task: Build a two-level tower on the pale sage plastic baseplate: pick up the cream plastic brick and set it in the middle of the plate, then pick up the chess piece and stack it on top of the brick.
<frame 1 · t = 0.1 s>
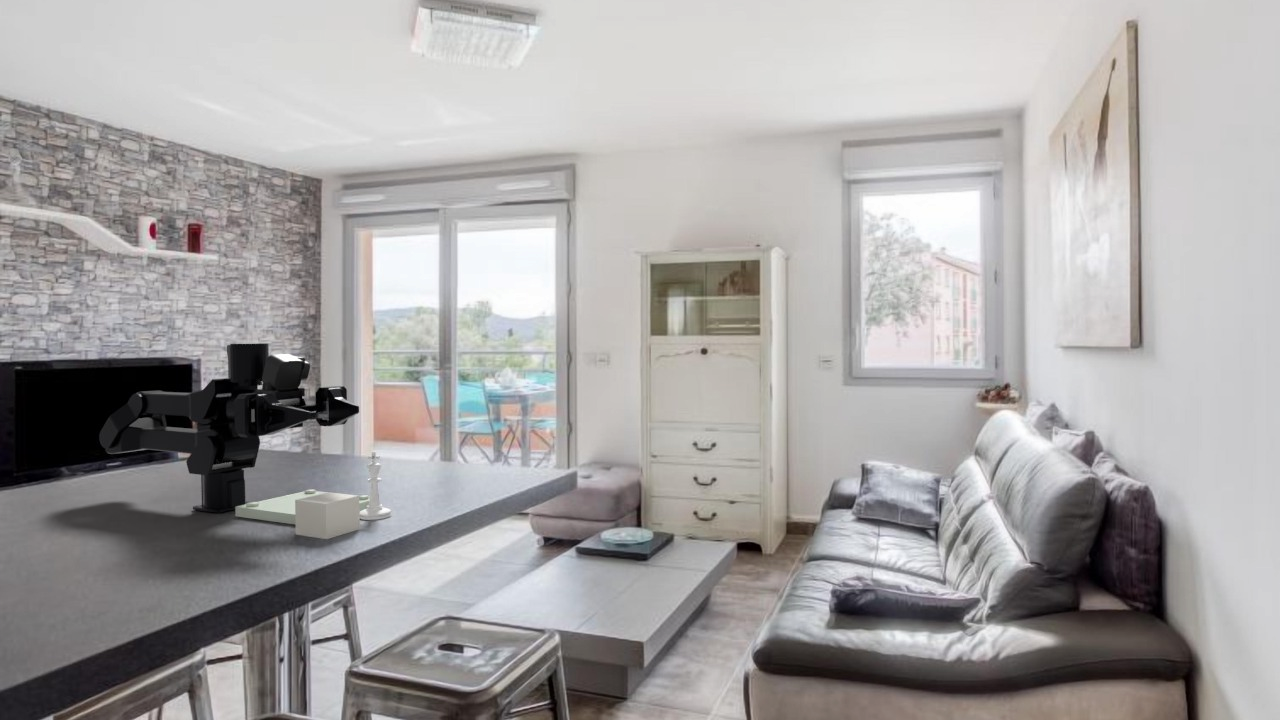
hand: (334, 412, 115), 17 cm above the breakfast bar, tool horizontal, fingers open, 9 cm apart
chess piece: (375, 517, 120), on the breakfast bar
baseplate: (308, 513, 122), on the breakfast bar
brick: (328, 532, 110), on the breakfast bar
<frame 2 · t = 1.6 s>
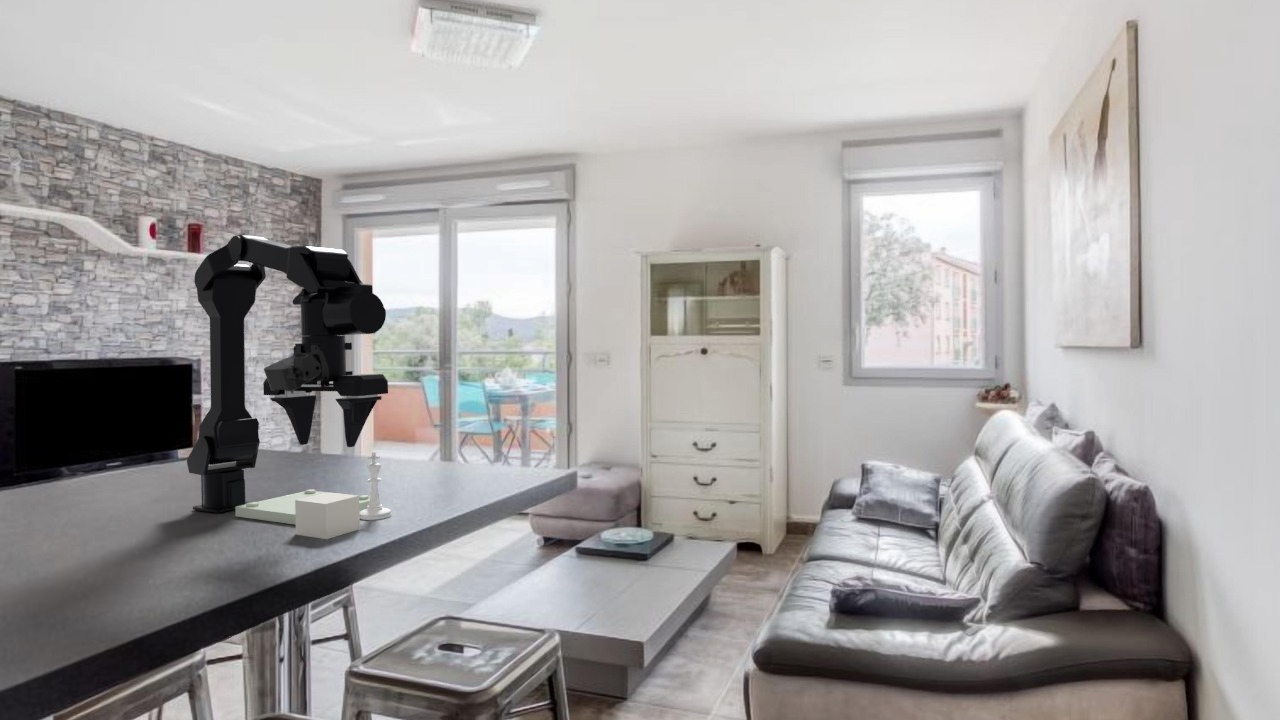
hand: (326, 445, 110), 12 cm above the breakfast bar, tool pointing down, fingers open, 9 cm apart
nothing on the breakfast bar moved.
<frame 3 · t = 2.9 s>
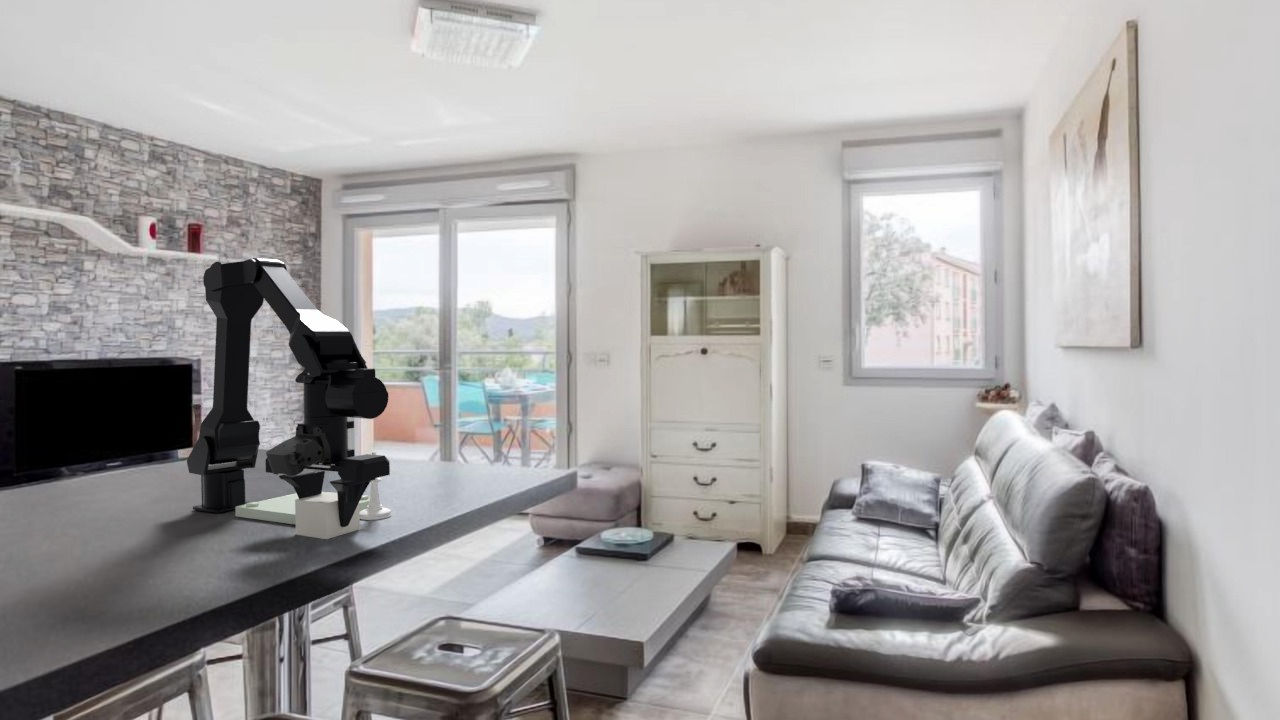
hand: (328, 524, 110), 1 cm above the breakfast bar, tool pointing down, fingers closed on brick, 6 cm apart
brick: (328, 532, 110), on the breakfast bar, touching gripper
everything else where it was.
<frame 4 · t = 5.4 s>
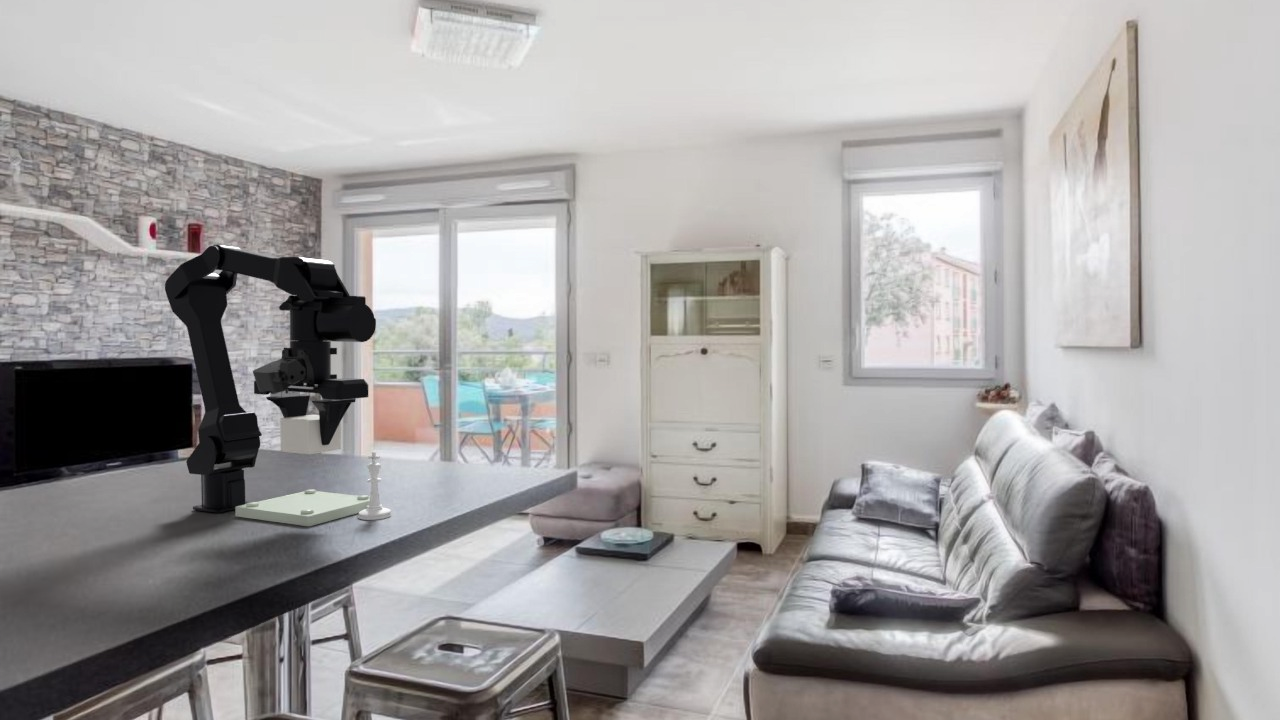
hand: (310, 443, 118), 12 cm above the breakfast bar, tool pointing down, fingers closed on brick, 6 cm apart
brick: (311, 450, 118), point 11 cm above the breakfast bar, touching gripper
everything else where it was.
when the fingers open (3 cm above the breakfast bar, at t = 7.8 s): brick stays where it is, resting on baseplate.
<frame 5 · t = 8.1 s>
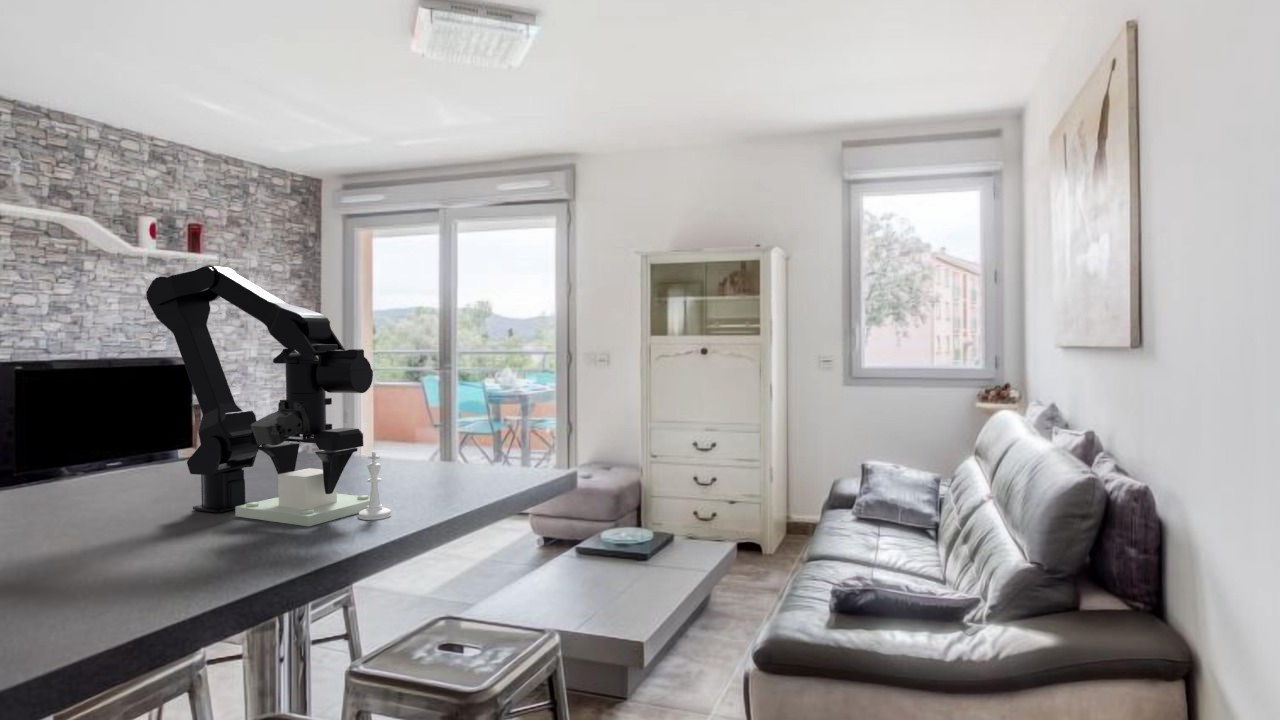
hand: (307, 491, 122), 3 cm above the breakfast bar, tool pointing down, fingers open, 9 cm apart
brick: (308, 504, 122), point 1 cm above the breakfast bar, touching baseplate
everything else where it was.
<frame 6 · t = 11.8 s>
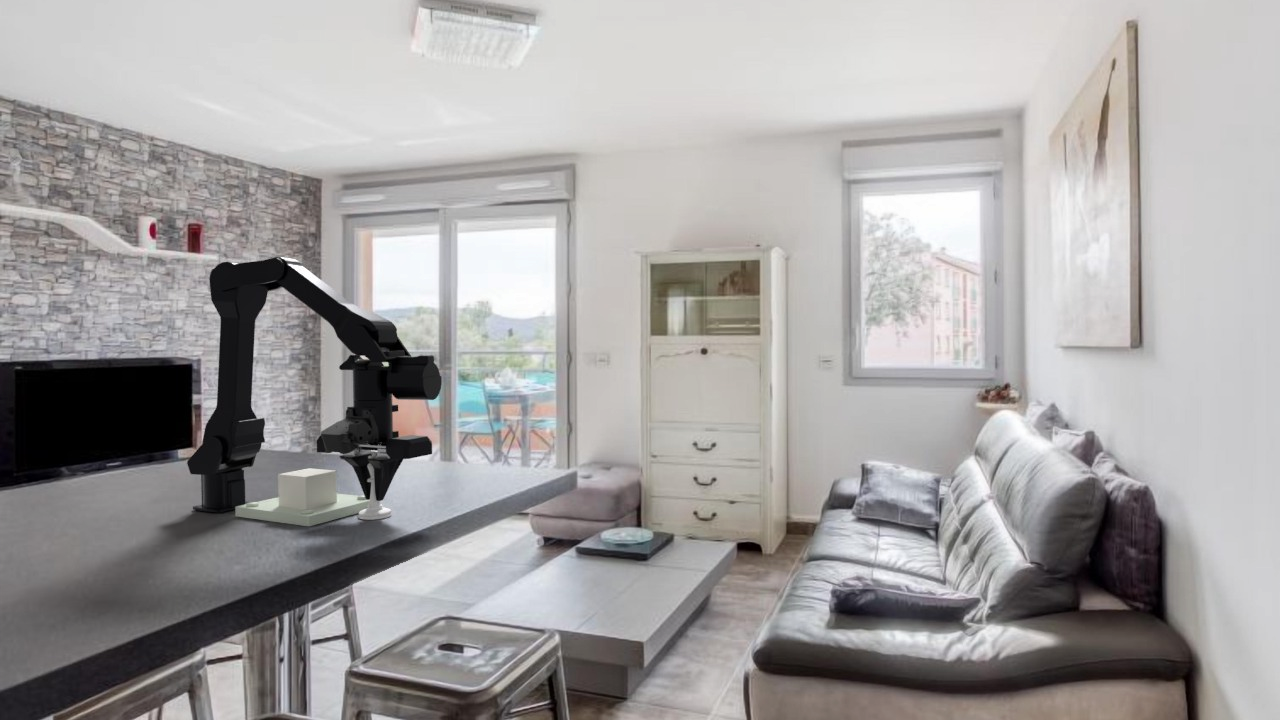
hand: (374, 499, 120), 3 cm above the breakfast bar, tool pointing down, fingers closed on chess piece
chess piece: (375, 517, 120), on the breakfast bar, touching gripper
everything else where it was.
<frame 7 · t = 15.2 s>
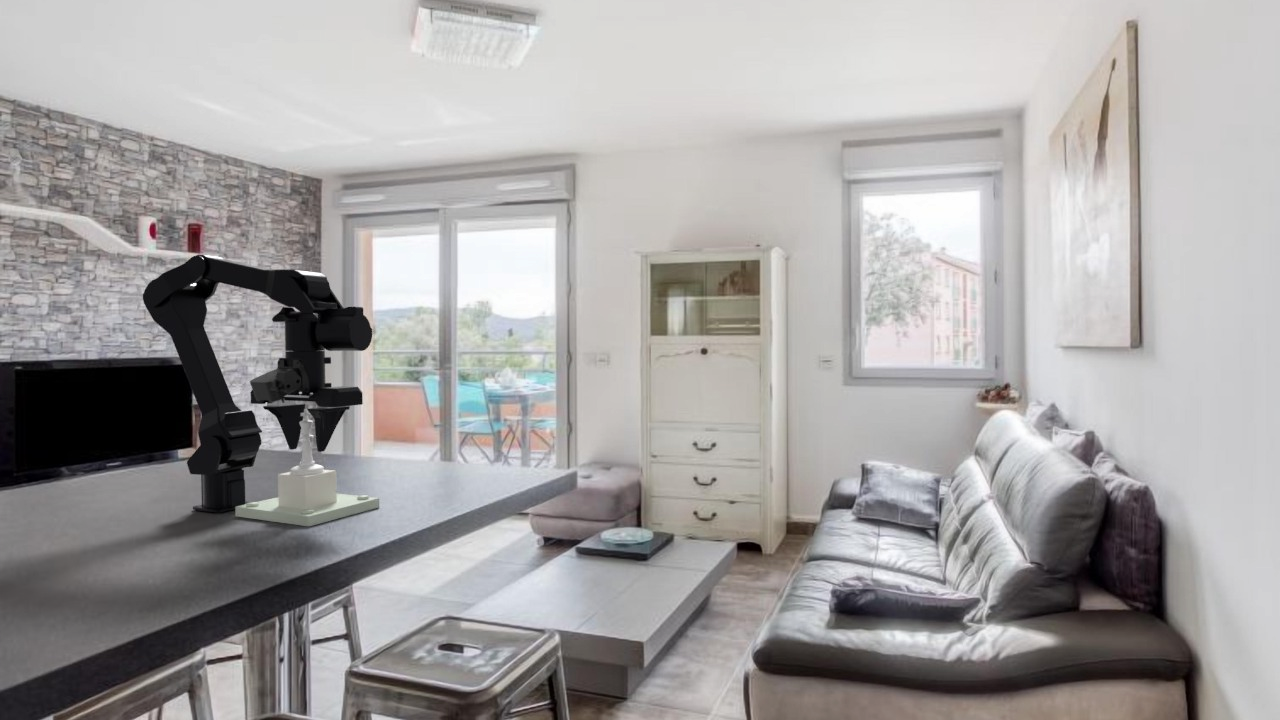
hand: (307, 450, 122), 10 cm above the breakfast bar, tool pointing down, fingers open, 6 cm apart
chess piece: (307, 473, 122), point 6 cm above the breakfast bar, touching brick
brick: (308, 503, 122), point 1 cm above the breakfast bar, touching baseplate, chess piece
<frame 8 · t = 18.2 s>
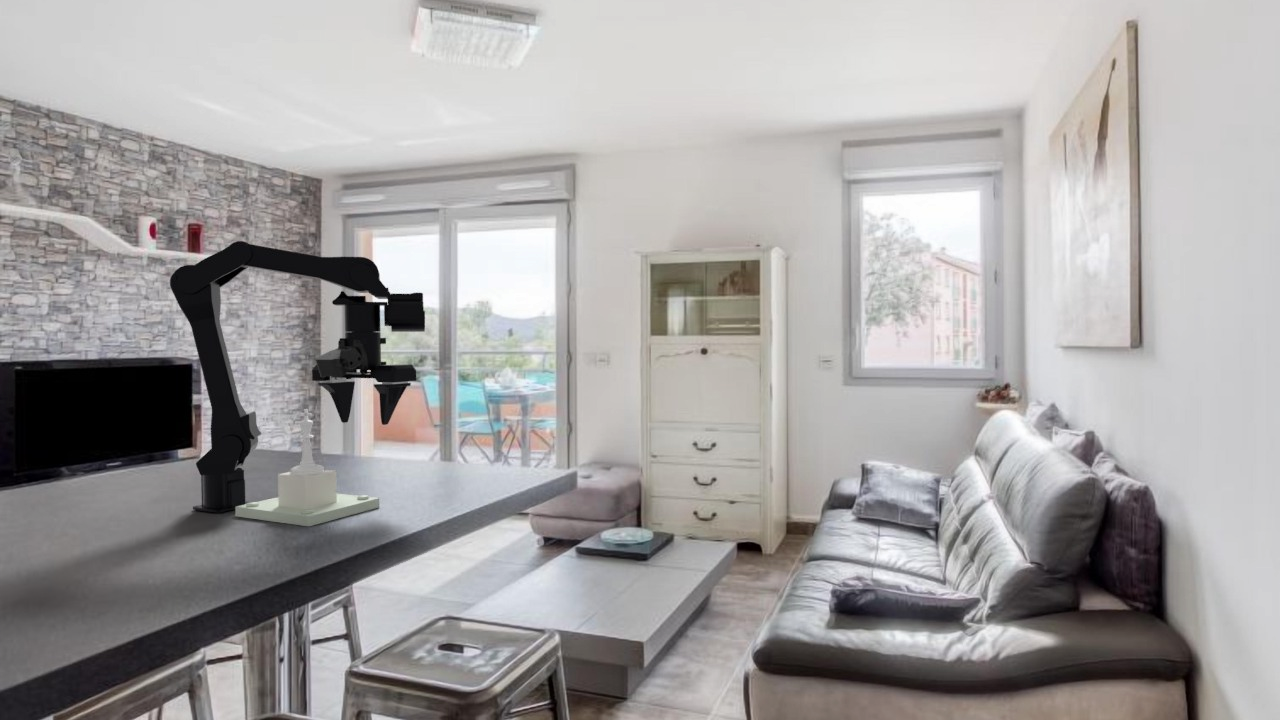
hand: (364, 423, 132), 13 cm above the breakfast bar, tool pointing down, fingers open, 9 cm apart
nothing on the breakfast bar moved.
at the end: brick 0.1 cm off-centre on the baseplate, point 1.5 cm above the baseplate's base; chess piece 0.0 cm off-centre on the brick, point 4.8 cm above the brick's base; chess piece tilted 0° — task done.
